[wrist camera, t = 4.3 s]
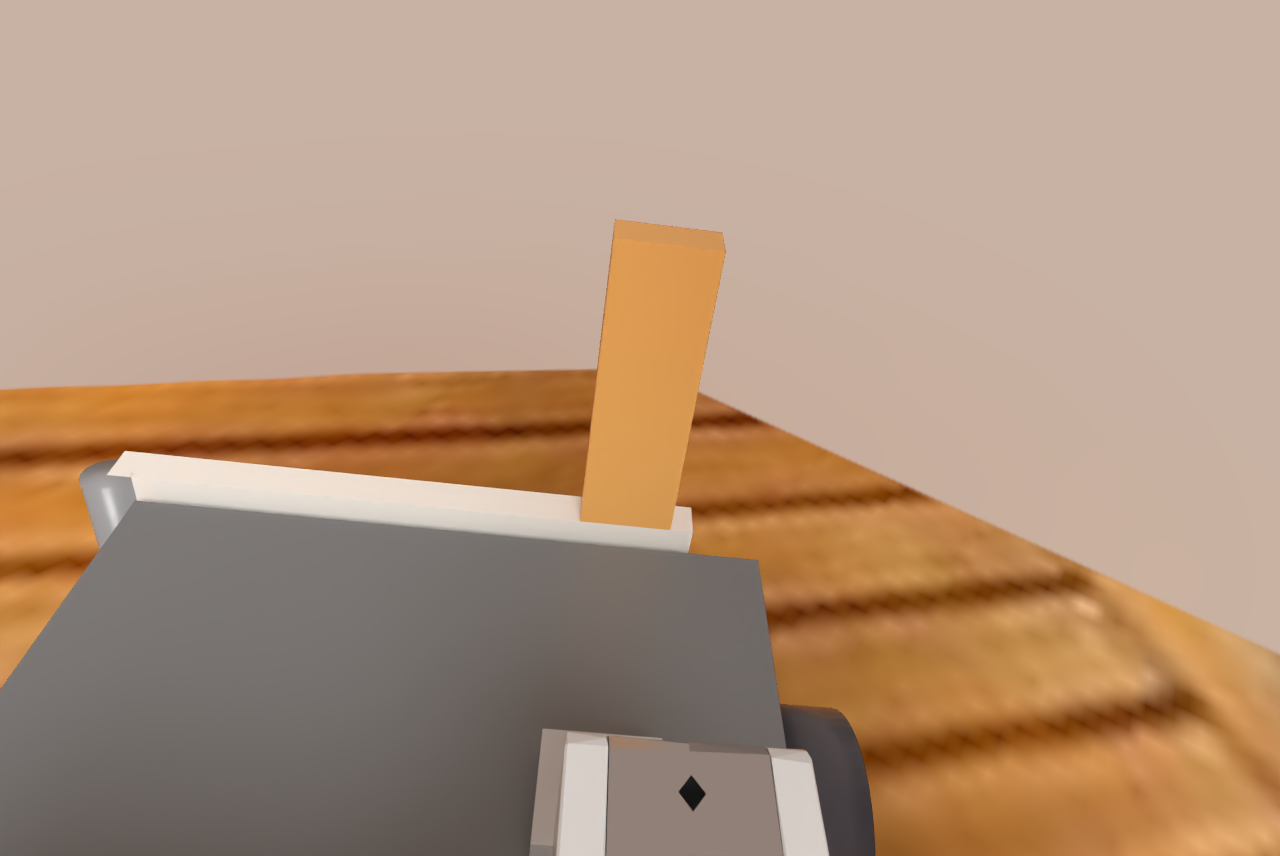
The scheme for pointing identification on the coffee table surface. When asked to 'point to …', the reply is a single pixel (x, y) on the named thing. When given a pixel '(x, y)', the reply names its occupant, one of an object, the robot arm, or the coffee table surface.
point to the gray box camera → (376, 689)
